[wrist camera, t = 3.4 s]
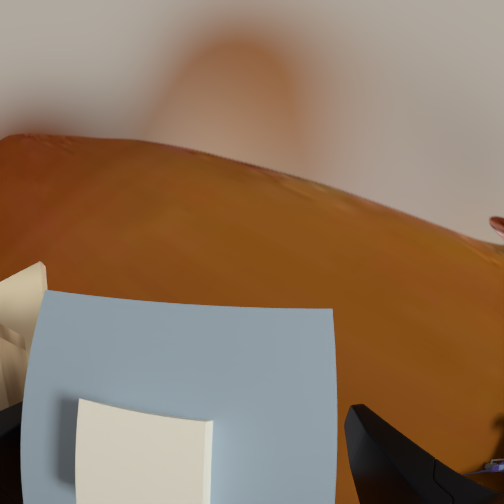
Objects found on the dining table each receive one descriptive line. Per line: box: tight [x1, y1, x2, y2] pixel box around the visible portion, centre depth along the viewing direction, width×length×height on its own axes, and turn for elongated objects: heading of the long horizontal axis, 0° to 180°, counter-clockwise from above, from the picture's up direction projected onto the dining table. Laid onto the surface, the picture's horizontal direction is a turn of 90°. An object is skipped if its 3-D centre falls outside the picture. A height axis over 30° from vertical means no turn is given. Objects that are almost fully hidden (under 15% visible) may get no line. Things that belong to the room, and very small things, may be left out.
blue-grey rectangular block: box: [21, 290, 337, 504], centre depth 8 cm, size 5×5×13 cm
